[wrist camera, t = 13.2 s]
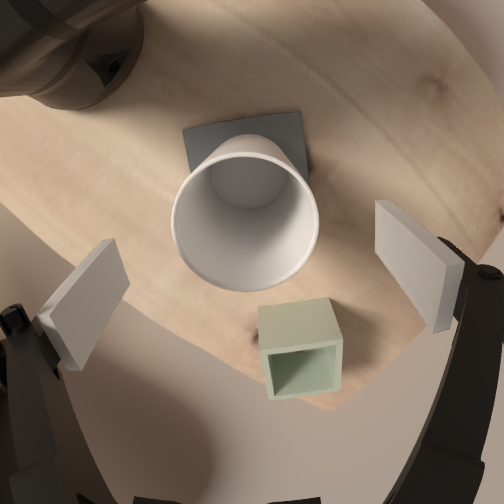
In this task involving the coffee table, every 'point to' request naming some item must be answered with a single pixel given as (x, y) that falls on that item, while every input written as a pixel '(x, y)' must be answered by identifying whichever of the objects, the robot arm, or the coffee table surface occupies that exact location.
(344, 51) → the coffee table surface
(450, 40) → the coffee table surface
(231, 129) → the coaster
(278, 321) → the planter
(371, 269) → the coffee table surface
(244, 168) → the cup
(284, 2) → the coffee table surface
